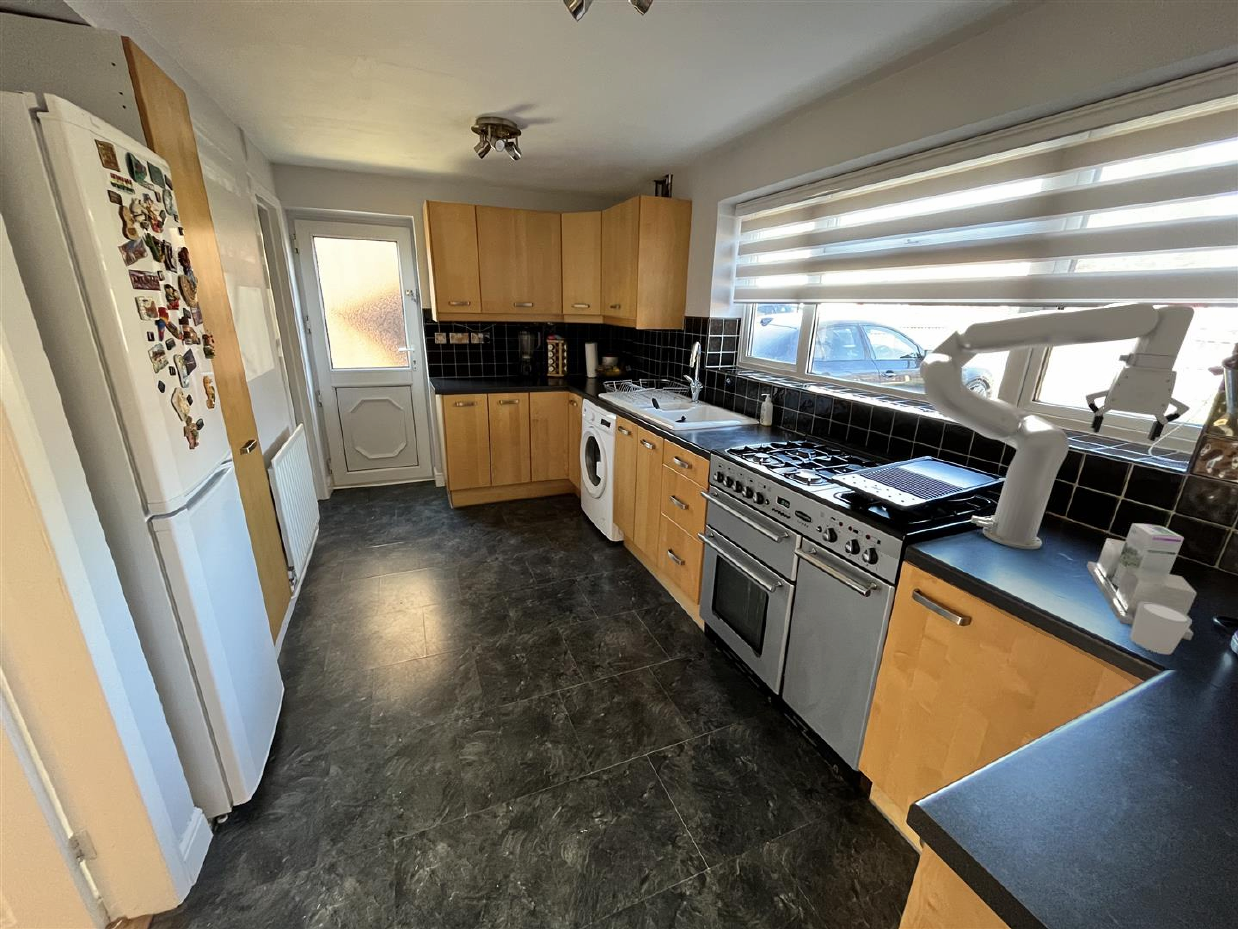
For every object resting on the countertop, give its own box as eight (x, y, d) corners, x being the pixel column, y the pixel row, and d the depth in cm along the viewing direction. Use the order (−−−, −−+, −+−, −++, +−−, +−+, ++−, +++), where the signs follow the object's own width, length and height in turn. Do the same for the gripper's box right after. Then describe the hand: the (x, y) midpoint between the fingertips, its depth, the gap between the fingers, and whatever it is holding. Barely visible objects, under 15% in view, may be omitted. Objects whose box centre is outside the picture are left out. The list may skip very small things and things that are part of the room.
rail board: (1119, 622, 99) (1135, 583, 96) (1086, 566, 120) (1099, 533, 117) (1190, 640, 94) (1209, 599, 91) (1143, 579, 115) (1157, 545, 113)
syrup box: (1160, 600, 104) (1187, 537, 99) (1126, 596, 105) (1152, 533, 100) (1139, 586, 109) (1164, 525, 104) (1107, 582, 110) (1131, 521, 105)
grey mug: (1162, 637, 95) (1176, 605, 92) (1187, 660, 88) (1203, 627, 86) (1116, 629, 97) (1129, 597, 94) (1138, 651, 90) (1153, 618, 88)
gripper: (1101, 359, 115) (1076, 431, 120) (1211, 368, 105) (1178, 446, 111) (1097, 357, 121) (1073, 426, 126) (1201, 365, 111) (1170, 440, 116)
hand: (1122, 435), depth 118 cm, fingers open, 9 cm apart
